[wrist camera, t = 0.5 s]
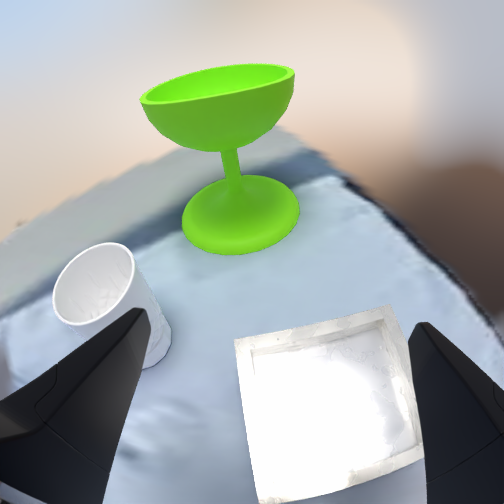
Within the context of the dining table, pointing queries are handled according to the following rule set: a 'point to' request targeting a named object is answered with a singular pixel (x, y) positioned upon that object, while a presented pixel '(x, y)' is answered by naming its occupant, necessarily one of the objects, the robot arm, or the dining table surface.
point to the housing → (328, 405)
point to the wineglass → (228, 152)
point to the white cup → (108, 296)
